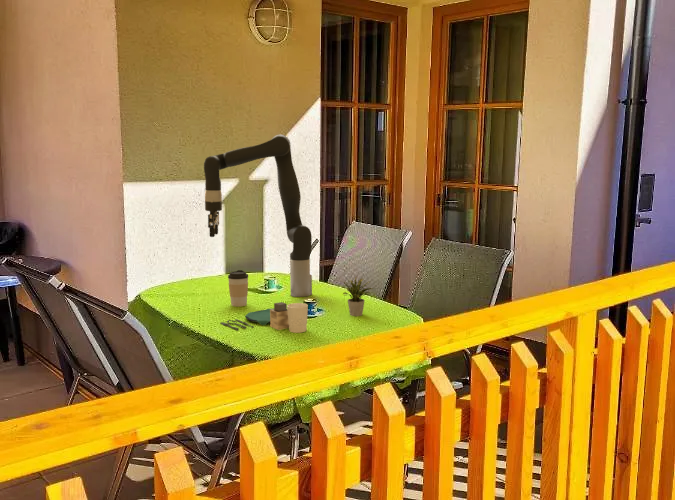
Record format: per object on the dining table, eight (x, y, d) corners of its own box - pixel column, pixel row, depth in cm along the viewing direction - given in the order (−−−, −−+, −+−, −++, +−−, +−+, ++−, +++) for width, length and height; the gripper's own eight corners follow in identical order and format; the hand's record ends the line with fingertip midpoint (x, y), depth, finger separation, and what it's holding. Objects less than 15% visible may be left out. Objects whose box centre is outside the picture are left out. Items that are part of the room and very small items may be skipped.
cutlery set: (303, 320, 286) (303, 314, 285) (238, 333, 268) (237, 328, 268) (278, 311, 302) (278, 305, 301) (215, 323, 284) (214, 317, 284)
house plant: (346, 321, 283) (346, 281, 280) (331, 313, 295) (331, 275, 292) (377, 316, 289) (377, 278, 287) (360, 309, 301) (360, 272, 299)
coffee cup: (245, 307, 306) (244, 273, 304) (225, 306, 308) (224, 273, 306) (251, 302, 315) (251, 270, 313) (232, 301, 317) (231, 269, 315)
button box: (283, 324, 279) (283, 307, 278) (291, 327, 274) (291, 310, 273) (270, 326, 276) (270, 309, 275) (277, 330, 271) (277, 312, 270)
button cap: (282, 308, 276) (282, 302, 276) (286, 310, 273) (286, 303, 273) (274, 309, 274) (274, 303, 274) (278, 311, 271) (278, 305, 271)
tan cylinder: (287, 328, 274) (287, 303, 272) (307, 327, 274) (307, 302, 273) (287, 333, 266) (287, 308, 264) (308, 333, 266) (308, 307, 265)
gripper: (208, 198, 325) (208, 233, 327) (202, 201, 311) (202, 237, 313) (224, 199, 325) (224, 233, 327) (218, 201, 311) (219, 237, 313)
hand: (213, 235), depth 320 cm, fingers open, 8 cm apart
